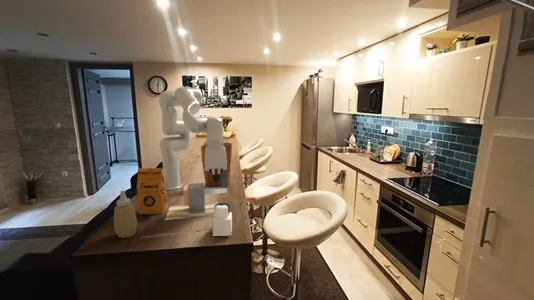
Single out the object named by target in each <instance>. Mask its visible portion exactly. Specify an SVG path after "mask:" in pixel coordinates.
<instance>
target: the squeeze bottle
mask: <svg viewBox="0 0 534 300" xmlns="http://www.w3.org/2000/svg"><path fill="white" fill-rule="evenodd" d="M113 210H114V212H113V213H114V214H113V230H114V232H115V234H116V235H117V237H118V238H120V237H122V238H121V239H126V238H125V237H127V238H131V237H132V236H134V235H135V234H136V231H137V227H138V219H137V215H136V210H135V205H134V204H133V203H132V201H131V198H128V197H127V195H126V191H125V190H121V191H120V196H119V199H118V200H116V206H115V207H114V209H113Z"/></svg>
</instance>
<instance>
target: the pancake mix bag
mask: <svg viewBox="0 0 534 300" xmlns="http://www.w3.org/2000/svg"><path fill="white" fill-rule="evenodd" d="M223 146H224V147H225V149H226V157H227V170H223V171H222V172H221V173H220V174H219V177H220V180H218V183H217V181H216V183H215V181H213V174H212V173H211V172H210V171H205V148H206V147H207V146H206V145H204V143H203V144H202V145H200V155H201V163H202V170H203V171H202V172H203V176H204V180H205V182H204V187H206V188H214V187H222V173H223V172H227V187H228V186H231V178H230V175H231V163H232V152H233V151H232V150H233V143H231V142H223ZM214 170H215V172H216V173H217V170H218V169H214Z"/></svg>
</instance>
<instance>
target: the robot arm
mask: <svg viewBox="0 0 534 300" xmlns="http://www.w3.org/2000/svg"><path fill="white" fill-rule="evenodd" d="M158 101H159V102H158V103H159V107H160V110H161V129H162V130H161V131H162V133H163V134H164V135H165V136H167V137H164V138H162V139H161V140H160V141H159V148H160V152H161V160H162V172H163V177H164V181H165V185H166V191H172V190H179V189H181V188H182V187H183V188H184V184H183V183H182V182H181V173H180V171H181V170H180V159H179V157H178V155H177V154H176V153H177V152H178V153H179V152H184V151H185V152H186V151H187V150H189V148H190V140H191V139H190V135H191V134H190V133H192V134H201V133H206V141H203V144H204V145H206V146H207V147H206V148H205V171H210V172H211V173H212V174H213V181H215V183H216V181H217V183H218V180H220V177H219V174H220V173H221V172H222V171H223V170H227V157H226V149H225V147H224V146H223V143H224V122H223V119H222V118H220V117H213V116H194V115H195V114H197V113H199V111H200V109H201V102H202V101H203V93H202V91H201V90H200V89H199V88H197V87H189V86H187V87H185V86H181V87H177V88H176V89H175V90H164V91H161V93H160V94H159V97H158ZM175 107H181V108H182V109H183V111H182V118H178V111H177V109H176V108H175ZM214 169H218V170H217V173H216V172H215V170H214Z"/></svg>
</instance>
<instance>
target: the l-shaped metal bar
mask: <svg viewBox="0 0 534 300" xmlns="http://www.w3.org/2000/svg"><path fill="white" fill-rule="evenodd" d="M217 194H228V186H227V172H223V173H222V186H217V187H204V195H217Z"/></svg>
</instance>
